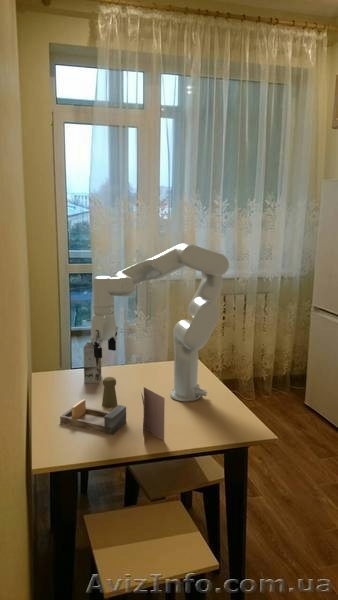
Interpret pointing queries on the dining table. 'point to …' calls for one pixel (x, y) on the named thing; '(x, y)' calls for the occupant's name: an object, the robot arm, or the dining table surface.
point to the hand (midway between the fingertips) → (105, 353)
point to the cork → (109, 393)
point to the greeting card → (153, 413)
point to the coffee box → (91, 365)
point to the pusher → (79, 409)
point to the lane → (97, 419)
